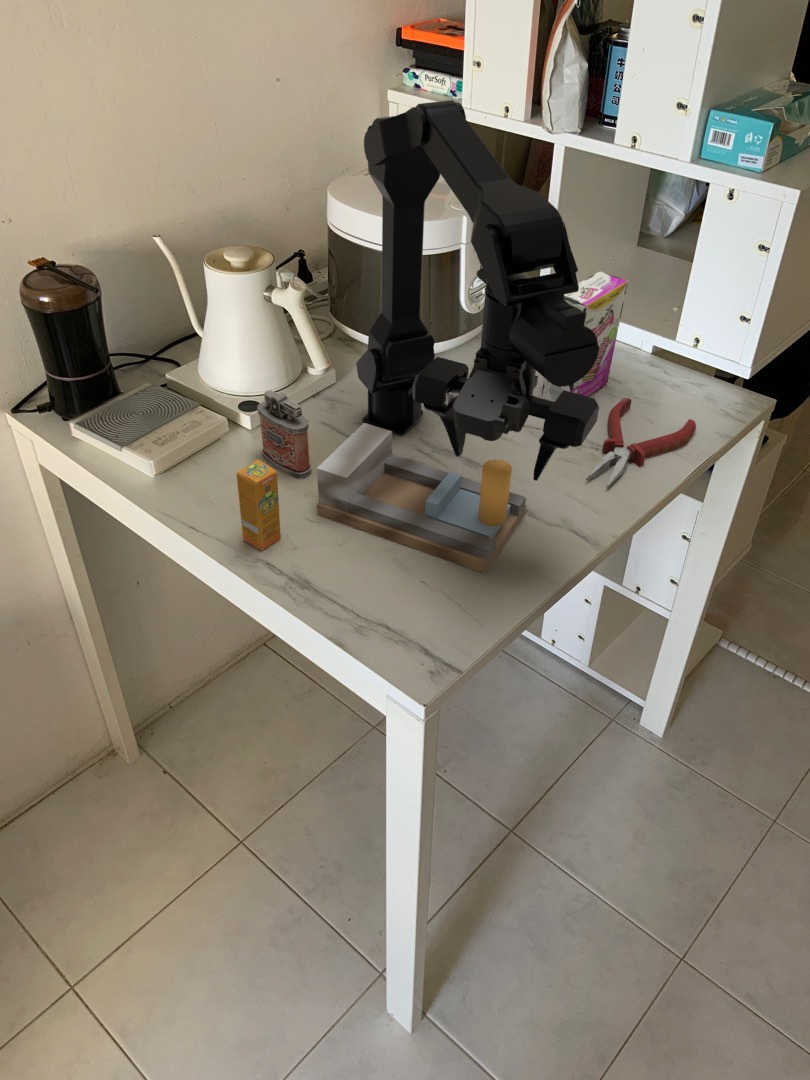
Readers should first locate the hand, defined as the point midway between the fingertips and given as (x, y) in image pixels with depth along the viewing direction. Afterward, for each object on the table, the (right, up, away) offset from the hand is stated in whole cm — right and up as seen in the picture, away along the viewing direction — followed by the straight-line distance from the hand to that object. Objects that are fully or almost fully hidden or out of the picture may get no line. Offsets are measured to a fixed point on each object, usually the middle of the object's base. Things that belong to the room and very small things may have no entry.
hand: (497, 466), depth 96 cm
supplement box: (-27, -8, +6) cm, 28 cm away
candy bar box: (+15, +13, +32) cm, 37 cm away
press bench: (-8, -5, +10) cm, 13 cm away
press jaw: (-2, -6, +6) cm, 9 cm away
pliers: (+19, +4, +22) cm, 30 cm away
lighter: (-25, +2, +17) cm, 31 cm away
